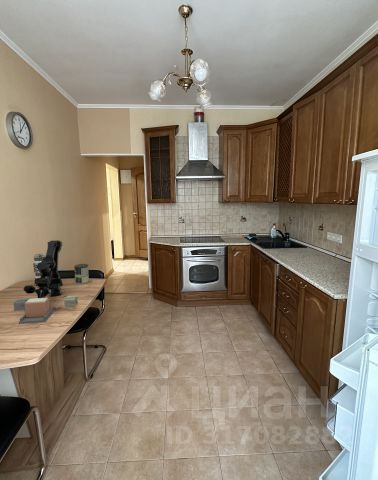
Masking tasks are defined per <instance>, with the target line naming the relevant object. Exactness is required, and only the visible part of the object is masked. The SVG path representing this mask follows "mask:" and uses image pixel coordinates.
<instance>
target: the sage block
mask: <svg viewBox="0 0 378 480" xmlns="http://www.w3.org/2000/svg"><path fill="white" fill-rule="evenodd" d="M78 301H79V300H78V295H68V296H67V295H66V297H65V298H64V299H63V302H64V308H75V307H76V306H77V305H78Z"/></svg>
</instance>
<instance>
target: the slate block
mask: <svg viewBox="0 0 378 480" xmlns="http://www.w3.org/2000/svg"><path fill="white" fill-rule="evenodd" d="M29 299H30V298H27V297H26V298H17V300H15V301H14V302H13V310H14V312H15V311H25V303H26V302H27V301H28V300H29Z"/></svg>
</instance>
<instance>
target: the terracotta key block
mask: <svg viewBox="0 0 378 480" xmlns="http://www.w3.org/2000/svg"><path fill="white" fill-rule="evenodd" d="M49 299H50V298H48V297H45V298H38V297H36V298H35V297H34V298H29V300H28V301H27V302H26V303H25V310H24V311H25V312H24V314H26V317H41V316H45V315H46V314H47V312H48V311H49V308H50V302H49V301H50V300H49Z"/></svg>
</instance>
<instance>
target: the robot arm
mask: <svg viewBox="0 0 378 480" xmlns="http://www.w3.org/2000/svg"><path fill="white" fill-rule="evenodd" d="M62 247H63V242H62V241H61V240H58V239H57V240H50V241H48V242H47V250H46V253H45V258H43V259H42V261H41V262H40V263H38V265H37V268H38V270H39V272H40V274H41V276H40V278H35V277H34V285H35V284H36V285H35V286H33V285H32V284H31V285H25V286H23V291H24V292H25V293H26V294H27V295H28V294H29V295H32V294H34V293H35V294H36V295H37V298H47V296H48V295H49V297H50V298H51V297H57V296H61V295H62V293H61V291H62V287H63V280H62V278H61V276H60V274H59V254H60V252H61V251H62ZM36 286H38V287H36Z"/></svg>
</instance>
